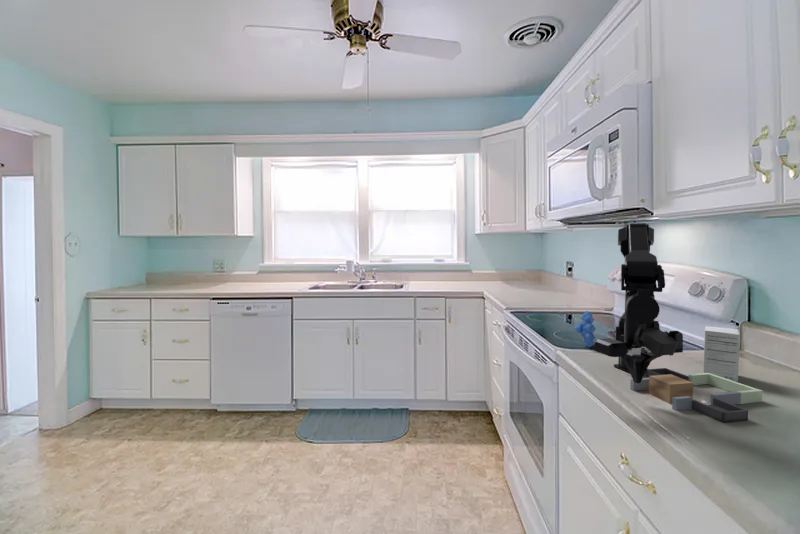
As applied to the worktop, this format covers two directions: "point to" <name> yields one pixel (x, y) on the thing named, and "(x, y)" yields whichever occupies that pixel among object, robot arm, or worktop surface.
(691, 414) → the worktop surface
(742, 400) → the box
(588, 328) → the grapes
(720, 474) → the worktop surface
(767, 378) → the worktop surface
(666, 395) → the walnut block
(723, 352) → the supplement box
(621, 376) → the worktop surface
